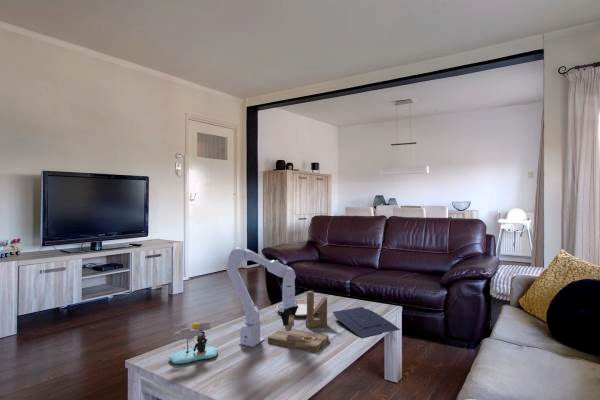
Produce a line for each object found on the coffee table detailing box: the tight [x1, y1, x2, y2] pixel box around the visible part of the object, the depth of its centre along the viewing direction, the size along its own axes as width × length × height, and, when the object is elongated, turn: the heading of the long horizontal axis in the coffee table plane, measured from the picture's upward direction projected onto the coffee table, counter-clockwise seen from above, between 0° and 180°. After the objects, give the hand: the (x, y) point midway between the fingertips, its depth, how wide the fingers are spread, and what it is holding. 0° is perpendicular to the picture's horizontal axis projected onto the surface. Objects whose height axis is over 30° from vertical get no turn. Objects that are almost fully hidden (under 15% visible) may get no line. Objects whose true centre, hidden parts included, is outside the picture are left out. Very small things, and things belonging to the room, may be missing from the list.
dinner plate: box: [276, 299, 320, 317], centre depth 217 cm, size 28×27×3 cm
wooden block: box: [305, 290, 328, 329], centre depth 193 cm, size 4×11×18 cm, turn 113°
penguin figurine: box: [168, 321, 219, 365], centre depth 155 cm, size 20×11×15 cm, turn 113°
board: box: [267, 327, 329, 353], centre depth 172 cm, size 14×24×2 cm, turn 64°
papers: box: [331, 306, 401, 338], centre depth 195 cm, size 24×30×4 cm
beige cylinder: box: [282, 315, 295, 331], centre depth 174 cm, size 5×5×6 cm
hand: (288, 323), depth 174 cm, fingers closed on beige cylinder, 5 cm apart
